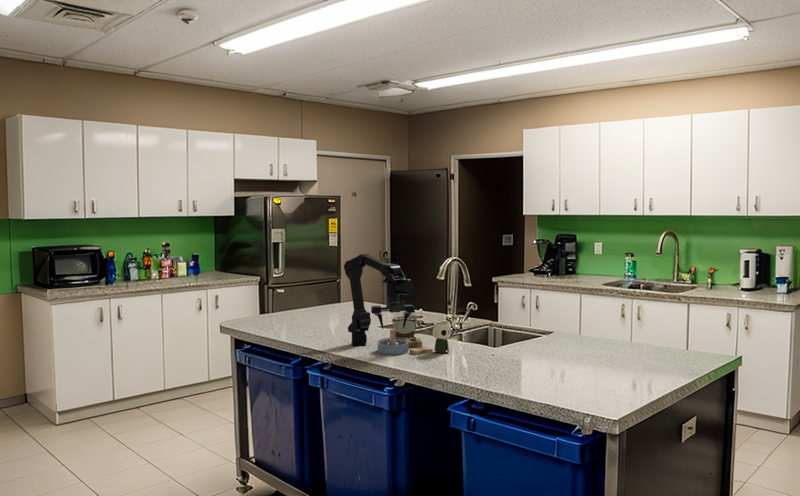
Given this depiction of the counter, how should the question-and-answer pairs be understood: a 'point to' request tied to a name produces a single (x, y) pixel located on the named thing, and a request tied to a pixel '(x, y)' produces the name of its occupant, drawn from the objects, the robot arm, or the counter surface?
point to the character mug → (441, 336)
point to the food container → (407, 330)
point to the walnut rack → (414, 342)
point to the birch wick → (392, 337)
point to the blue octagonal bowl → (392, 347)
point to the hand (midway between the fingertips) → (393, 328)
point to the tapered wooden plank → (421, 351)
